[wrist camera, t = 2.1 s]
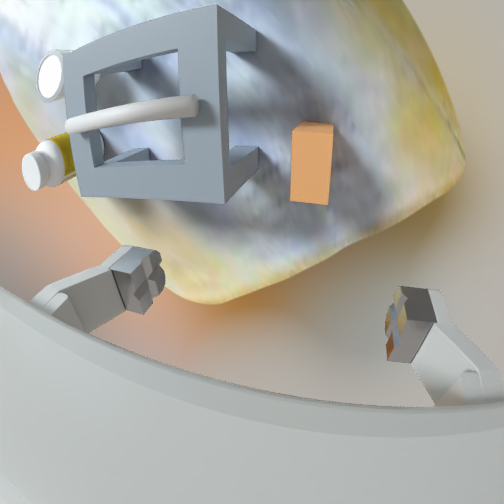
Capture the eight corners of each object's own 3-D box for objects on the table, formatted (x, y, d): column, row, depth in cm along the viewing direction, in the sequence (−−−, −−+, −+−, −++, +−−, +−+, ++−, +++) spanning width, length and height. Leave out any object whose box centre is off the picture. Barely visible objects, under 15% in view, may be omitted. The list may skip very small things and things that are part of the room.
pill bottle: (86, 116, 31) (23, 137, 22) (112, 142, 32) (48, 169, 23) (73, 149, 34) (16, 175, 25) (96, 174, 35) (39, 206, 26)
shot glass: (111, 50, 25) (70, 51, 19) (98, 99, 29) (58, 108, 23) (79, 45, 25) (40, 48, 19) (69, 89, 29) (31, 98, 23)
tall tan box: (302, 121, 25) (292, 130, 19) (333, 123, 25) (333, 134, 18) (301, 174, 28) (290, 200, 22) (329, 177, 28) (327, 205, 21)
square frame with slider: (125, 54, 25) (50, 57, 16) (256, 30, 21) (207, -1, 12) (136, 166, 33) (70, 203, 24) (258, 168, 29) (216, 212, 20)
